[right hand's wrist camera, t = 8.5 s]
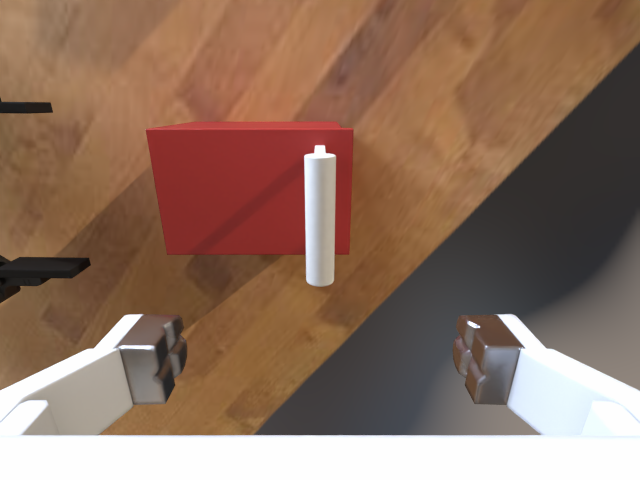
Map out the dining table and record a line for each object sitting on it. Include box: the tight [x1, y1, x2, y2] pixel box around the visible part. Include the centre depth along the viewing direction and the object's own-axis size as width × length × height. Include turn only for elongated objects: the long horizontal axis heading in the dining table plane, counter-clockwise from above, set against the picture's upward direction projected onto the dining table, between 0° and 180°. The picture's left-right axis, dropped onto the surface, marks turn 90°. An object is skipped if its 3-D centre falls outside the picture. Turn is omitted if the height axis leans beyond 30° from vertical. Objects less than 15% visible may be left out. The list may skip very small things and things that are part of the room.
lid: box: [146, 128, 353, 287], centre depth 23 cm, size 14×10×8 cm, turn 90°
